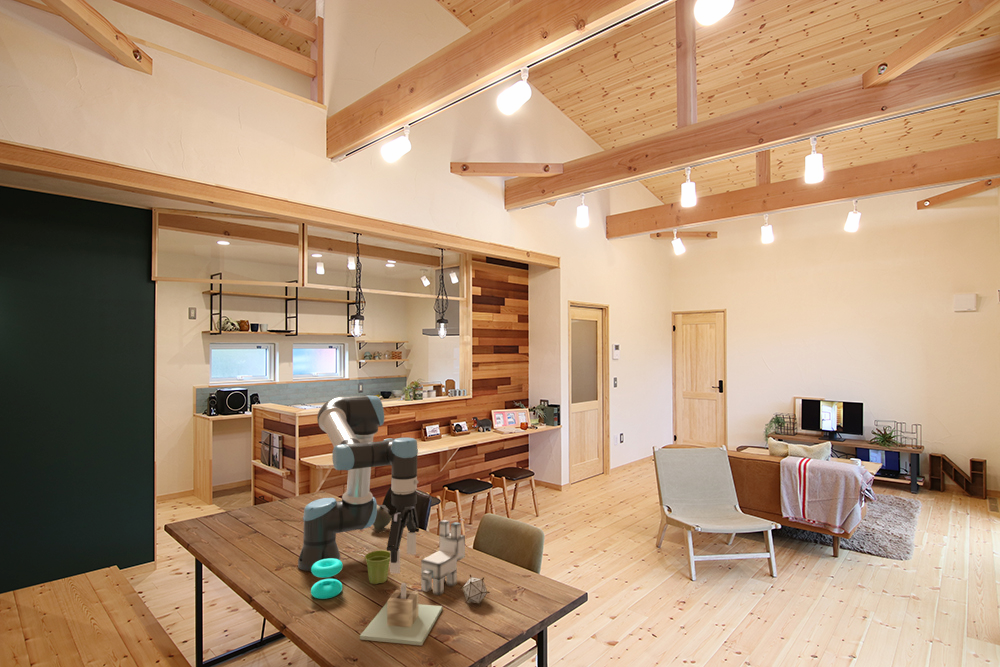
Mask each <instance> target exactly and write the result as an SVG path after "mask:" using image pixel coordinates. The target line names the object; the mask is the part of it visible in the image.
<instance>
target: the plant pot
mask: <svg viewBox="0 0 1000 667" xmlns="http://www.w3.org/2000/svg"><path fill="white" fill-rule="evenodd" d="M364 559H365V561H366V565H367V566H366V567H367V574H368V581H369V583H370V584H373V585H378V584H384V583H386V581H387V580H388V576H389V575H388V574H389V569H390V551H387V550H383V549H382V550H374V551H370V552H368V553H366V554H365V555H364Z"/></svg>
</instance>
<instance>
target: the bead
mask: <svg viewBox="0 0 1000 667" xmlns="http://www.w3.org/2000/svg"><path fill="white" fill-rule="evenodd" d="M419 597H420V596H419V591H416V590H406V599H401V589H396V590H394V592H393V593H392V595H391V596H390V597H389V598H388V599H387V602H388V605H387V625H389V626H400V627H411V626H412V624H413V623H414V621H415V620H416V618H417V617H418V604H419Z"/></svg>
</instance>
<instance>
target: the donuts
mask: <svg viewBox="0 0 1000 667" xmlns="http://www.w3.org/2000/svg"><path fill="white" fill-rule="evenodd" d="M343 567H344V565H343V562H342V560H341V559H340V560H338V559H334V558H328V559H323V560H319V561H317V562H316V563H314V564H313V565H312V568H311V571H310V572H311V574H312V575H313V576H314V577H317V578H324V579H320V580H318V581H317V582H315V583H314V584H312V587H311V589H310V594H311V596H312V597H314V598H315V599H320V600H325V599H331V598H334V597H336V596H338V595H339V594H341V592H342V590H343V586H344V585H343V584H342V582H341V581H340V580H338V579H337V578H331V577H334V576H336V575H338V574H339V573H340V572H341V571H342V570H343Z"/></svg>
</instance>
